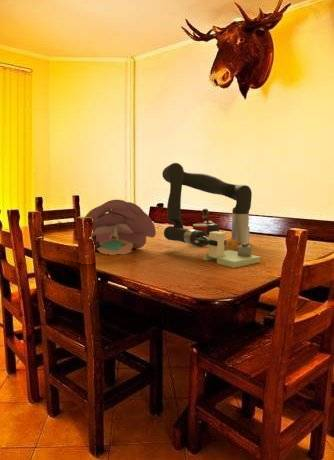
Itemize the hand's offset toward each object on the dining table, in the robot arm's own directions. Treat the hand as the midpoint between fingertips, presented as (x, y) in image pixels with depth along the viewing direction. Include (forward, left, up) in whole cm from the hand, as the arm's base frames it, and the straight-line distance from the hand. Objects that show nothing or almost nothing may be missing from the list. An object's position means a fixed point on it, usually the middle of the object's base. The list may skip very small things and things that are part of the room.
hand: (221, 243), depth 157 cm
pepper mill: (-39, -51, -9) cm, 64 cm away
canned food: (-23, -39, -9) cm, 46 cm away
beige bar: (0, -3, -6) cm, 7 cm away
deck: (-6, +1, -8) cm, 10 cm away
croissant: (-21, -15, -9) cm, 28 cm away
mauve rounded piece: (+26, -48, -9) cm, 55 cm away
